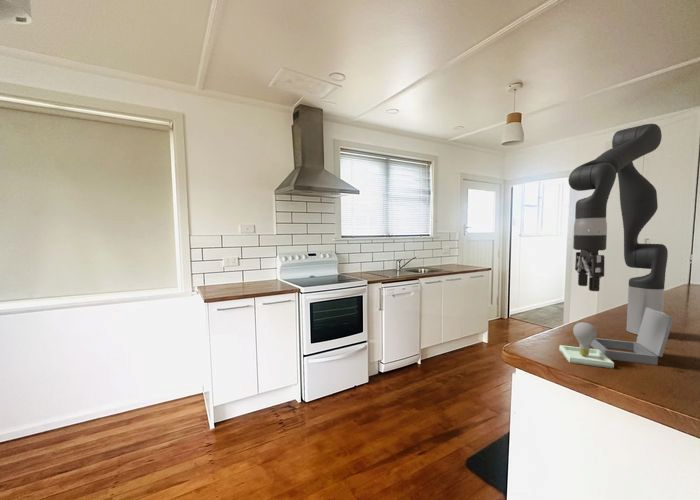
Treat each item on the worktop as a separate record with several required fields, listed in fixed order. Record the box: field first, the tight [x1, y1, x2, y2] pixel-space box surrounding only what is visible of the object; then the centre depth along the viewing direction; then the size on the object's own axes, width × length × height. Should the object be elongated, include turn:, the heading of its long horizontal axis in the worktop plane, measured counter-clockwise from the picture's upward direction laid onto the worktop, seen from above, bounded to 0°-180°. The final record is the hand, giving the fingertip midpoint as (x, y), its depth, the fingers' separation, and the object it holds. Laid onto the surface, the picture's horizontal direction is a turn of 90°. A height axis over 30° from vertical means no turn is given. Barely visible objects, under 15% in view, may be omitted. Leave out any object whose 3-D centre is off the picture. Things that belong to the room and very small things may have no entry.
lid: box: [635, 307, 675, 358], centre depth 86 cm, size 12×12×1 cm
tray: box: [558, 344, 615, 369], centre depth 86 cm, size 10×10×2 cm
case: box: [590, 337, 659, 366], centre depth 89 cm, size 12×12×2 cm
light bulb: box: [572, 321, 598, 356], centre depth 86 cm, size 6×6×10 cm
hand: (588, 288), depth 86 cm, fingers open, 8 cm apart
